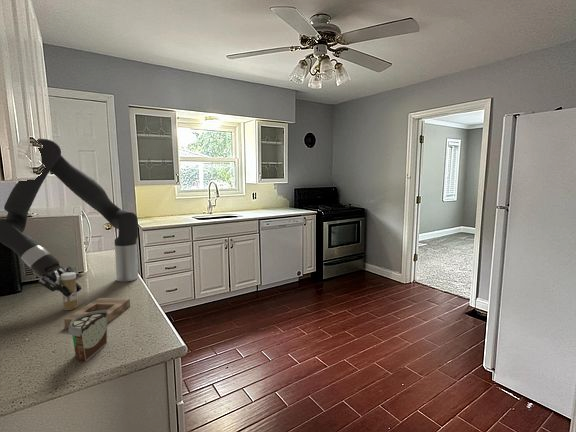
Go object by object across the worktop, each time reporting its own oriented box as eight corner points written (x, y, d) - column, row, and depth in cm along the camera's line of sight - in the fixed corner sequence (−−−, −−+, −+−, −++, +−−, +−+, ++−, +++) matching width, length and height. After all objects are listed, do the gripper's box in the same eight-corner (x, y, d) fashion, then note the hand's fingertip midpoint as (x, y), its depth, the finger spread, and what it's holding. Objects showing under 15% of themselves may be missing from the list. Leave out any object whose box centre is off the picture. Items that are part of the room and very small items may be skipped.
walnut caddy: (99, 305, 119) (98, 297, 119) (130, 306, 119) (129, 298, 118) (64, 327, 101) (64, 319, 101) (100, 328, 101) (100, 320, 100)
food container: (90, 340, 94) (88, 308, 93) (110, 340, 94) (108, 309, 93) (59, 364, 82) (56, 328, 81) (81, 365, 82) (79, 329, 80)
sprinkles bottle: (78, 308, 116) (75, 274, 114) (63, 311, 113) (60, 276, 111) (78, 304, 119) (75, 270, 118) (63, 307, 117) (61, 272, 115)
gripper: (30, 258, 107) (67, 293, 108) (61, 249, 121) (93, 279, 122) (16, 273, 107) (53, 307, 109) (49, 262, 122) (81, 292, 123)
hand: (74, 292), depth 115 cm, fingers closed on sprinkles bottle, 4 cm apart
